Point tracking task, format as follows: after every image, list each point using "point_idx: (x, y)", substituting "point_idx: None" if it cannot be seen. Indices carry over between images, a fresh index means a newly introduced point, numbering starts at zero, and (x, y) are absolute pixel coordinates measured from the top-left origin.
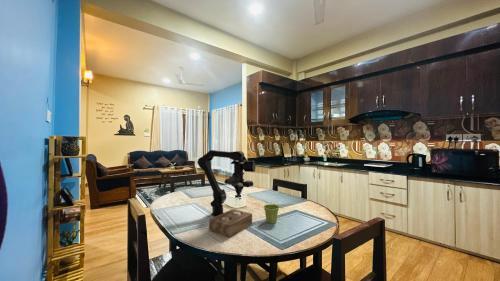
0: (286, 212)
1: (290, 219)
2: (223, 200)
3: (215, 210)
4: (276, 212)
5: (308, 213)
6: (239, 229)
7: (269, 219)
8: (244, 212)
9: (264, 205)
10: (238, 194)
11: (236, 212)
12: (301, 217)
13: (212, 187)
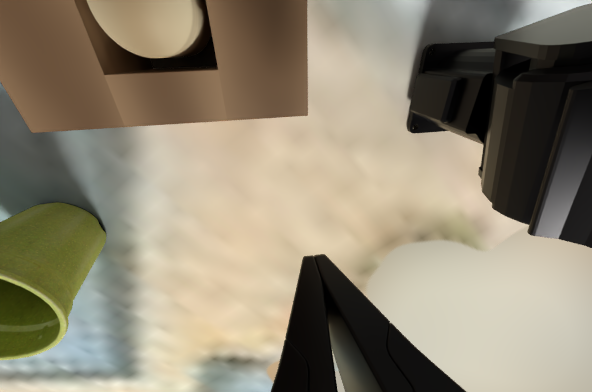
0: (136, 342)
1: None
2: (495, 131)
3: (488, 51)
4: None
5: (59, 381)
6: None
7: (18, 214)
8: (122, 105)
9: (55, 306)
10: (303, 279)
11: (170, 21)
12: None
13: None
